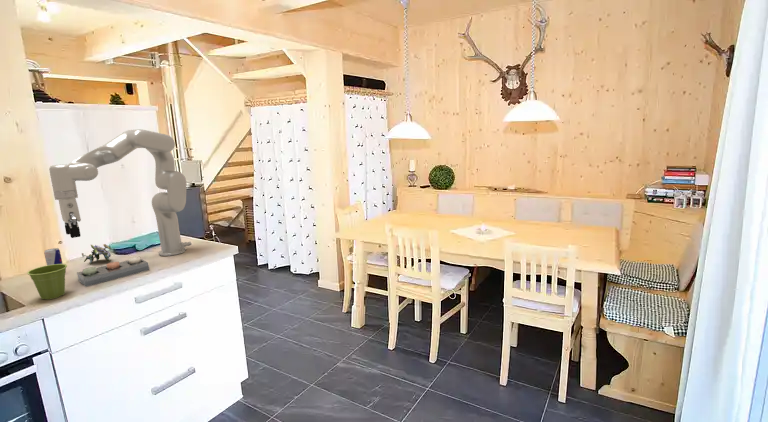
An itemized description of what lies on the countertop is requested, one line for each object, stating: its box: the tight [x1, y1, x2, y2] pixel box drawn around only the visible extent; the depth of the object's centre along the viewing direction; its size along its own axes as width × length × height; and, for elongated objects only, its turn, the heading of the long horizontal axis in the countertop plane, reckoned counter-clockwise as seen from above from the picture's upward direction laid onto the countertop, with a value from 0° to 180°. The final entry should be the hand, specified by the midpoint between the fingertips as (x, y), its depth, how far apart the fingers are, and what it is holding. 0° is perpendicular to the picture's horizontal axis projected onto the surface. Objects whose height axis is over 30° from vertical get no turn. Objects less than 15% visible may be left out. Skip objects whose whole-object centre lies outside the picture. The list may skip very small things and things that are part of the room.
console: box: [76, 258, 150, 288], centre depth 175 cm, size 24×12×4 cm, turn 138°
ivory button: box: [128, 256, 142, 264], centre depth 180 cm, size 5×5×2 cm
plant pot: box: [26, 263, 68, 300], centre depth 153 cm, size 12×12×11 cm
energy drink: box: [44, 247, 64, 266], centre depth 177 cm, size 5×5×12 cm
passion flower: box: [81, 243, 112, 265], centre depth 193 cm, size 11×11×12 cm
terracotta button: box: [105, 261, 120, 269], centre depth 174 cm, size 5×5×2 cm
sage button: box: [82, 266, 97, 275], centre depth 168 cm, size 5×5×2 cm
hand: (73, 235), depth 166 cm, fingers open, 9 cm apart
